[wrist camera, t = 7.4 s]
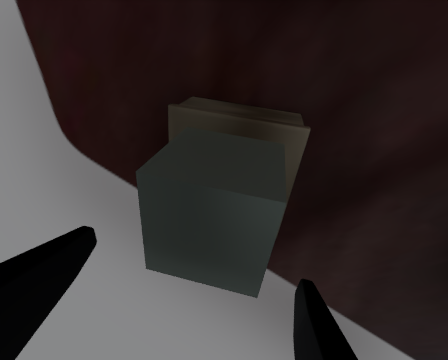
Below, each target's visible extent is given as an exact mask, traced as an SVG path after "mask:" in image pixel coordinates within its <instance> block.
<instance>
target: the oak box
mask: <svg viewBox="0 0 448 360" xmlns="http://www.w3.org/2000/svg"><path fill="white" fill-rule="evenodd" d="M168 127H169V142H170V141H171V140H173V139H174V138H175V137H176V136H177V135H178V134H179V133H181V132H182V131H183V130H184V129H185V128H186V127H191V128H197V129H202V130H208V131H214V132H219V133H225V134H230V135H236V136H242V137H247V138H253V139H259V140H264V141H270V142H275V143H281V144H284V145H285V174H286V202H287V203H288V200H289V196H290V193H291V190H292V187H293V184H294V181H295V177H296V174H297V171H298V168H299V165H300V162H301V158H302V155H303V152H304V149H305V146H306V142H307V139H308V136H309V133H310V130H311V129H310V127H309V126H304V124H303V120H302V116H301V114H298V113H291V112H285V111H279V110H273V109H267V108H261V107H254V106H248V105H242V104H236V103H230V102H224V101H217V100H211V99H205V98H199V97H191V98H189V99H188V100H186V101H184V102H182V103H181V104H179V105H178V104H172V103H171V104H169V105H168ZM287 203H286V206H287ZM285 209H286V207H285ZM284 212H285V210H284ZM283 216H284V213H283ZM283 216H282V219H283ZM281 222H282V220H281ZM280 225H281V223H280ZM279 228H280V226H279ZM278 231H279V229H278ZM277 235H278V232H277ZM276 238H277V236H276Z"/></svg>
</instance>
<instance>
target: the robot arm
mask: <svg viewBox="0 0 448 360" xmlns="http://www.w3.org/2000/svg"><path fill="white" fill-rule="evenodd" d="M96 243H97V240H96V236H95V232H94V229H93V228H92V227H87V226H82V227H79V228H77V229H75V230H73V231H70V232H68V233H66V234H64V235H62V236H59V237H57V238H55V239H53V240H51V241H48V242H46V243H44V244H42V245H39V246H37V247H35V248H33V249H30V250H28V251H26V252H24V253H22V254H19V255H17V256H15V257H13V258H10V259H8V260H6V261H4V262H2V263H0V360H15V359H16V357H17V356H18V355H19V353H20V352H21V351H22V349H23V348H24V347H25V345H26V344H27V343H28V341H29V340H30V339H31V337H32V336H33V335H34V333H35V332H36V331H37V329H38V328H39V327H40V325H41V324H42V323H43V321H44V320H45V319H46V317H47V316H48V315H49V313H50V312H51V311H52V309H53V308H54V307H55V305H56V304H57V303H58V301H59V300H60V299H61V297H62V296H63V294H64V293H65V292H66V290H67V289H68V288H69V287H70V285H71V284H72V282H73V281H74V279H75V278H76V277H77V275H78V274H79V272H80V271H81V269H82V267H83V266H84V264H85V262H86V261H87V259H88V257H89V256H90V254H91V252H92V251H93V249H94V248H95V246H96ZM293 337H294V354H295V360H358V359H357V357H356V355H355V354H354V352H353V350H352V349H351V347H350V345H349V343H348V342H347V340H346V338H345V336H344V335H343V333H342V331H341V330H340V328H339V326H338V324H337V323H336V321H335V319H334V317H333V316H332V314H331V312H330V311H329V309H328V307H327V305H326V304H325V302H324V300H323V299H322V297H321V295H320V293H319V292H318V290H317V288H316V286H315V285H314V283H313V282H312V281H310V280H306V279H301V280H300V282H299V285H298V287H297V289H296V292H295V304H294V333H293Z"/></svg>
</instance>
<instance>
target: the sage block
mask: <svg viewBox="0 0 448 360" xmlns="http://www.w3.org/2000/svg"><path fill="white" fill-rule="evenodd" d="M136 179H137V188H138V196H139V206H140V216H141V225H142V235H143V244H144V253H145V263H146V269H149V270H153V271H157V272H161V273H164V274H168V275H172V276H176V277H180V278H183V279H187V280H191V281H195V282H198V283H202V284H206V285H210V286H214V287H218V288H221V289H225V290H229V291H233V292H236V293H240V294H244V295H248V296H252V297H255V298H257V297H258V293H259V290H260V287H261V283H262V281H263V277H264V274H265V271H266V268H267V265H268V261H269V258H270V255H271V252H272V248H273V245H274V242H275V239H276V236H277V232H278V229H279V226H280V223H281V220H282V216H283V213H284V210H285V207H286V203H287V202H286V174H285V145H284V144H281V143H275V142H270V141H264V140H259V139H253V138H247V137H242V136H236V135H230V134H225V133H219V132H214V131H208V130H202V129H197V128H191V127H186V128H185V129H184V130H183V131H182V132H181V133H179V134H178V135H177V136H176V137H175V138H174V139H173V140H171V141H170V142H169V143H168V144H167V145H166V146H165V147H163V148H162V149H161V150H160V151H159V152H158V153H157V154H155V155H154V156H153V157H152V158H151V159H150V160H149V161H147V162H146V163H145V164H144V165H143V166H142V167H141V168H139V169H138V170H137V171H136Z"/></svg>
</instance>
